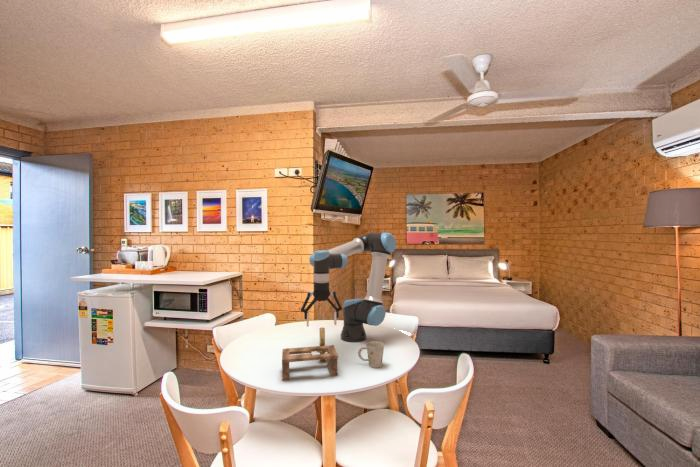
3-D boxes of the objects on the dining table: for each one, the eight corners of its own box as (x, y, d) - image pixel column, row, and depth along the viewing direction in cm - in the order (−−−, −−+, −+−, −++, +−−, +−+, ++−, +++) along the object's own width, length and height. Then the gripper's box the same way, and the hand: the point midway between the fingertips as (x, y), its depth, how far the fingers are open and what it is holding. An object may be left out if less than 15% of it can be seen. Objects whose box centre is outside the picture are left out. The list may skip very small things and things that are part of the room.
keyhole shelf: (333, 363, 155) (333, 345, 156) (338, 376, 142) (338, 355, 142) (282, 368, 151) (282, 348, 151) (282, 381, 137) (282, 359, 137)
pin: (327, 358, 163) (327, 326, 163) (329, 362, 157) (328, 329, 157) (315, 359, 162) (315, 326, 162) (316, 363, 156) (316, 330, 156)
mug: (383, 369, 148) (383, 347, 148) (356, 367, 151) (356, 346, 151) (385, 362, 156) (384, 341, 157) (359, 360, 159) (359, 340, 159)
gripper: (345, 280, 166) (345, 322, 165) (295, 281, 161) (295, 324, 161) (347, 282, 158) (347, 325, 158) (296, 283, 154) (296, 328, 153)
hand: (321, 325), depth 159 cm, fingers open, 13 cm apart
